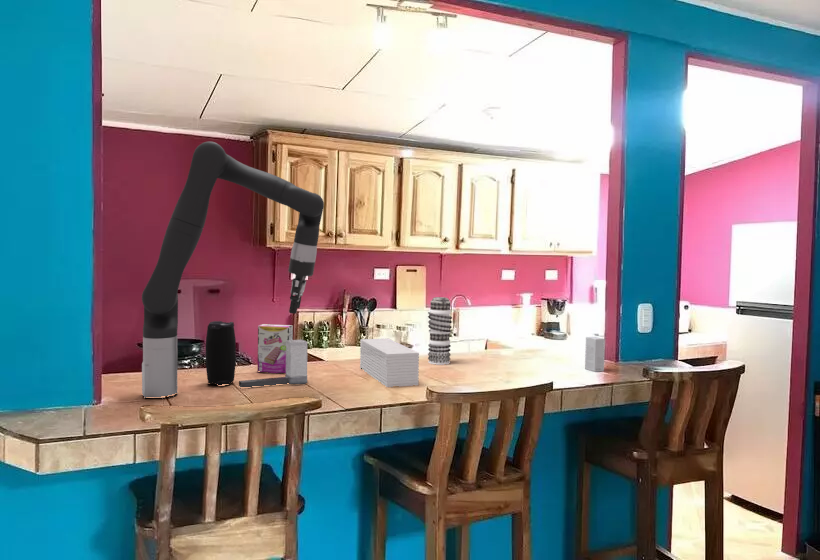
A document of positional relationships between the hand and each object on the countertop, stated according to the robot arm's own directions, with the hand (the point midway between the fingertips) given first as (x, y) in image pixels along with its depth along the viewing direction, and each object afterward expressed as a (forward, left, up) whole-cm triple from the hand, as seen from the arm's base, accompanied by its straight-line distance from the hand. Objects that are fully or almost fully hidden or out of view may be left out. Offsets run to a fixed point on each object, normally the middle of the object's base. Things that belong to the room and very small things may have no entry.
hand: (294, 310), depth 194 cm
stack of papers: (+35, +5, -25) cm, 43 cm away
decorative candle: (+65, +19, -24) cm, 71 cm away
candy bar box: (+3, +27, -24) cm, 36 cm away
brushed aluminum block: (+4, +8, -22) cm, 23 cm away
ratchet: (-4, +8, -24) cm, 26 cm away
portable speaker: (-18, +16, -24) cm, 34 cm away
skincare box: (+110, -17, -24) cm, 114 cm away
